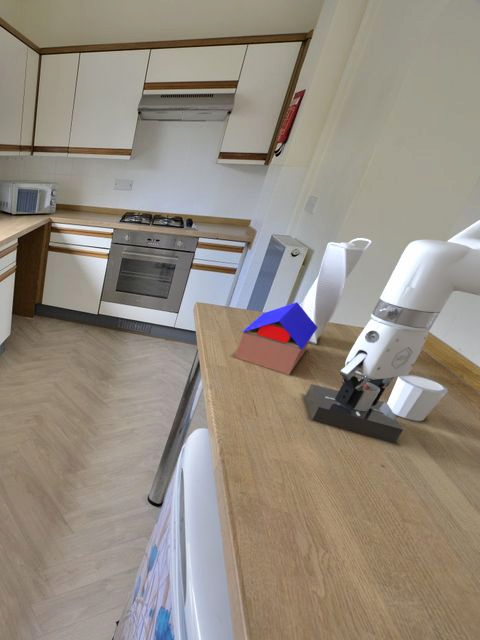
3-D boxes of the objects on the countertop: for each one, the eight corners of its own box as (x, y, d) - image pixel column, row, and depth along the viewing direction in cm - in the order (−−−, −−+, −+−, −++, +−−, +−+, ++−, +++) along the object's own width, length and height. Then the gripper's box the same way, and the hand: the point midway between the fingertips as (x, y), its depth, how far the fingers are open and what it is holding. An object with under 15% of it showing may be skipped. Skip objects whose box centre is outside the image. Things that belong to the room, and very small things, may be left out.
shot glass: (374, 406, 83) (391, 376, 80) (392, 400, 86) (409, 371, 83) (418, 426, 78) (438, 395, 75) (435, 418, 80) (455, 388, 77)
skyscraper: (324, 338, 114) (372, 237, 102) (322, 347, 109) (373, 241, 96) (288, 329, 119) (329, 232, 107) (284, 337, 113) (328, 235, 101)
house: (306, 350, 106) (326, 309, 101) (290, 375, 93) (311, 329, 88) (254, 335, 114) (270, 295, 109) (232, 356, 101) (248, 313, 96)
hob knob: (336, 395, 81) (347, 375, 79) (365, 402, 79) (377, 382, 77) (341, 406, 77) (352, 385, 75) (371, 414, 75) (384, 392, 73)
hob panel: (379, 415, 80) (387, 402, 79) (395, 443, 73) (404, 429, 71) (305, 395, 86) (311, 383, 84) (312, 419, 78) (319, 406, 77)
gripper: (393, 326, 65) (341, 420, 72) (465, 320, 69) (409, 409, 77) (343, 308, 71) (301, 396, 79) (412, 304, 75) (365, 388, 83)
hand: (354, 402), depth 78 cm, fingers open, 4 cm apart
